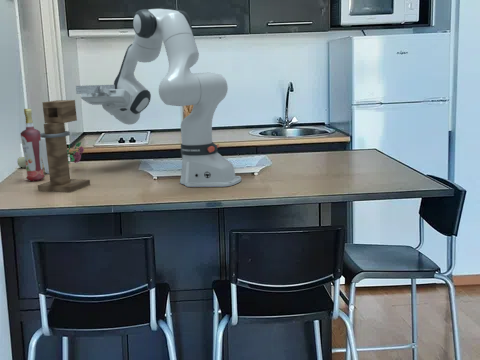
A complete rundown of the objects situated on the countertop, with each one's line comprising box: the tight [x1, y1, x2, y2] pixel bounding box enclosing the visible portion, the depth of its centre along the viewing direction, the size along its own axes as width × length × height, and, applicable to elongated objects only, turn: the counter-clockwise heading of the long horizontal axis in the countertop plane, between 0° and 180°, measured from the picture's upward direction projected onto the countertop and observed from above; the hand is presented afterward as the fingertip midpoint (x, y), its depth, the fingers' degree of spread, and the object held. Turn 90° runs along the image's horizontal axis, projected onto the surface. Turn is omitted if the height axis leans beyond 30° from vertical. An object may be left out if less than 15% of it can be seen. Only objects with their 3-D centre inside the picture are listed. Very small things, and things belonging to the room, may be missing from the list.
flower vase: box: [16, 141, 85, 168], centre depth 259 cm, size 12×12×35 cm
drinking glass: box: [41, 137, 49, 175], centre depth 250 cm, size 7×7×15 cm
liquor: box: [20, 108, 45, 182], centre depth 235 cm, size 7×7×28 cm
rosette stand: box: [37, 99, 91, 193], centre depth 218 cm, size 14×13×31 cm
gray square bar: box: [75, 84, 115, 95], centre depth 238 cm, size 3×22×3 cm, turn 159°
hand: (95, 88), depth 237 cm, fingers closed on gray square bar, 3 cm apart
